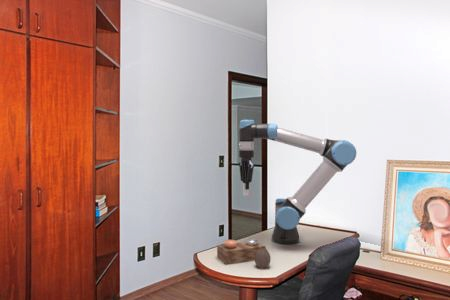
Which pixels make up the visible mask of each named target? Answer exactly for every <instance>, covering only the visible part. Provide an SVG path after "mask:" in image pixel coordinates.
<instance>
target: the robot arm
mask: <svg viewBox="0 0 450 300" xmlns="http://www.w3.org/2000/svg"><path fill="white" fill-rule="evenodd" d="M238 130H239V131H238V135H239V136H238V138H239V139H238V140H239V142H238V147H239V150H238V157H239V158H241V159H240V162H238V167H239V175H240V181H241V182H242V196H244V197H247V196H250V183H252V180H253V173H254V167H255V163H253V162H252V158H254V156H255V155H254V154H255V150H254V149H255V139H264V140H270V141H273V142H277V143H281V144H284V145H288V146H292V147H296V148H298V149H303V150H305V151H310V152H313V153H316V154H318V155H319V156H320V157H322V162H320V164H319V165H318V166H317V168H316V169H315V170H314V171H313V172H312V173H311V175H310V176H309V177H308V178H307V179H306V180H305V182H304V183H303V184H302V185H301V186H300V187H299V189H298V190H297V191H296V192H295V193H294V194H293V195H292V196H288V197H287V198H276V199H275V202H274V205H275V206H274V207H275V208H274V209H275V210H274V211H275V212H274V213H275V215H274V217H275V218H274V228H273V231H272V234H271V241H272V242H275V243H277V244H283V245H295V244H298V243H299V242H300V234H299V231H298V227H297V226H298V225H299V224H300V220H301V218H302V217H303V216H304V215H305V214H306V213H307V212H306V208H307V207H309V205H310V204H311V202H313V200H314V199H315V198H316V197H317V196H318V194H319V193H320V192H321V191H322V190H323V189H324V188H325V187H326V186H327V184H328V183H329V182H330V181H331V179H333V177H334V176H335V175H336V174H337V173H339V172H340V173H341V172H343V171H344V169H345V168H346V167H347V166H348V165H350V164H352V163H353V162H354V161H355V159H356V158H357V149H356V146H355V145H354V144H353V143H352V142H351V141H348V140H346V139H345V140H344V139H342V140H340V139H339V140H336V139H329V138H324V139H323V138H318V137H315V136H311V135H307V134H303V133H301V132H300V133H299V132H297V131H292V130H289V129H285V128H280V127H278V124H276V123H255V120H254V119H241V120H240V121H239V128H238Z"/></svg>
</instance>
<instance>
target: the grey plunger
mask: <svg viewBox="0 0 450 300" xmlns="http://www.w3.org/2000/svg"><path fill="white" fill-rule="evenodd" d="M258 241H259V240H258V239H256V238H246V239H245V242H246V245H248V246H257V245H258Z"/></svg>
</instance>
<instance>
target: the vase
mask: <svg viewBox="0 0 450 300" xmlns="http://www.w3.org/2000/svg"><path fill="white" fill-rule="evenodd" d="M254 263H255V265H256V266H257V267H258V268H259V269H267V268H268V267H269V266H270V264H271V254H270V252H269V251H268V249H267V246H266V245H264V246H261V247H260V248H259V250H258V251H257V252H256V254H255V261H254Z"/></svg>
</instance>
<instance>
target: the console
mask: <svg viewBox="0 0 450 300" xmlns="http://www.w3.org/2000/svg"><path fill="white" fill-rule="evenodd" d="M261 246H265V245H264V244H262V243H260V242H258V245H257V246H248V245H246V241H240V242H237V246H236V247H233V248H228V247H225V243H222V244H217V247H216V248H217V249H216V252H217V253H216V258H217V259H218V260H219V261H220V262H222V263H223V264H224V265H227V266H229V265H233V264H240V263H246V262H253V261H254V262H255V254H256V252H257V251H258V250H259V248H260V247H261Z"/></svg>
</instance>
